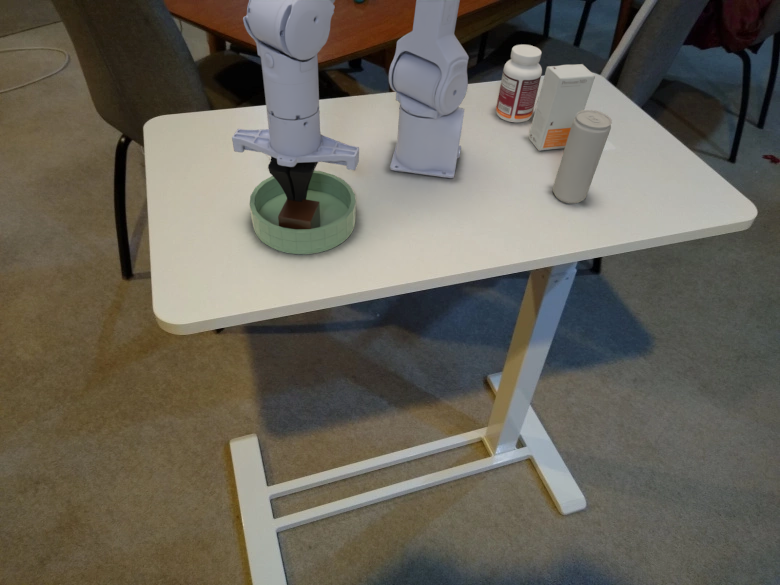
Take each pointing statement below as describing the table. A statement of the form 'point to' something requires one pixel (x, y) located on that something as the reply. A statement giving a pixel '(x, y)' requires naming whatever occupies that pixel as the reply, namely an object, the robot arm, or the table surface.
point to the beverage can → (581, 155)
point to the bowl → (331, 233)
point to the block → (300, 214)
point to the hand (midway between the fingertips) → (300, 206)
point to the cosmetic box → (559, 104)
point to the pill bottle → (519, 84)
